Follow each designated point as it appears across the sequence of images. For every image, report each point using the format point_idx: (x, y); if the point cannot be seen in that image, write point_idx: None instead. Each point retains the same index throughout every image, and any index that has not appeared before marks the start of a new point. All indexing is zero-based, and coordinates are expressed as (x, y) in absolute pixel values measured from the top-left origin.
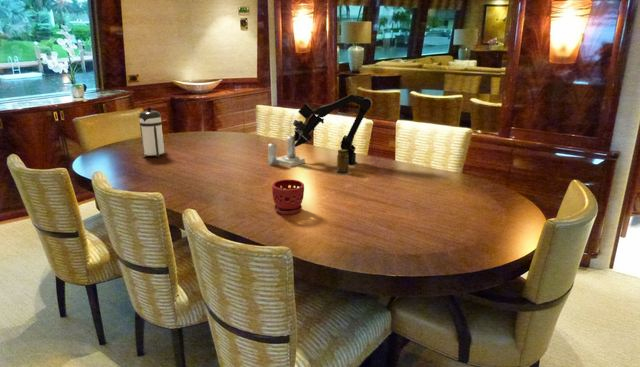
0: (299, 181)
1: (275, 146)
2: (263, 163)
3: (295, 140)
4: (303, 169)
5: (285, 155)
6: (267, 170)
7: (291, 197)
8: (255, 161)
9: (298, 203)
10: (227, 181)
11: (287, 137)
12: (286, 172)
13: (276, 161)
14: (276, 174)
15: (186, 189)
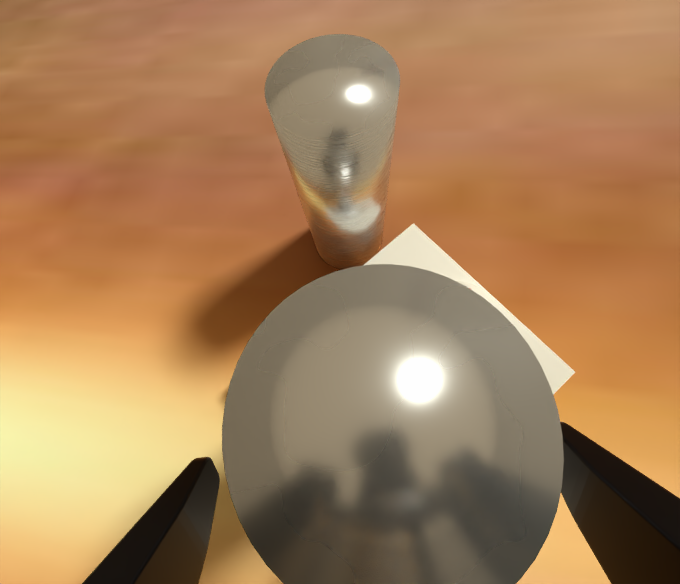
0: None
1: (288, 145)
2: (401, 176)
3: (624, 579)
4: (138, 483)
5: (546, 352)
6: (207, 199)
7: None
8: (467, 127)
9: None
10: (77, 25)
11: (322, 287)
12: (109, 323)
13: (327, 252)
14: (91, 251)
15: None
